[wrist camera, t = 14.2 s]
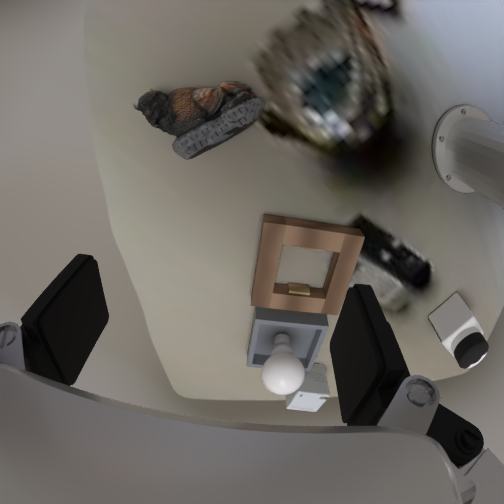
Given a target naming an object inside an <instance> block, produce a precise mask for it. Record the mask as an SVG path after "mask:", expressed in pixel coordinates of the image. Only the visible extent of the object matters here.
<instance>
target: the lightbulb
mask: <svg viewBox="0 0 504 504" xmlns="http://www.w3.org/2000/svg"><path fill="white" fill-rule="evenodd" d="M304 377H305V370H304V366H303V364H302V362H301V361H300V360H299V359H298V358H297V357H296V356H295V355H294V354H293V351H292V349H291V346H290V337H289V336H288V335H286V334H278V335H276V336H275V337H274V349H273V351H272V354H271V356H270V357H269V358H268V359H267V360H266V361H265V363H264V365H263V367H262V370H261V379H262V382H263V384H264V386H265V387H266V388H267V389H268V390H269V391H271V392H272V393H274V394H278V395H287V394H291V393H293V392H295V391H296V390H297V389H298V388H299V387H300V386H301V385H302V383H303V381H304Z"/></svg>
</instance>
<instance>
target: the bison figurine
mask: <svg viewBox="0 0 504 504" xmlns="http://www.w3.org/2000/svg"><path fill="white" fill-rule="evenodd" d="M150 90H151V91H149V92H147V93H145V94H144V95H143V96H141V97H140V98H139V102H138V105H135V104H134V103H133V106H134V108H135V109H137V110H139V111H141V112H143V115H145V117H146V119H147V120H148V122H149V123H150V124H151V125H152V126H153V127H156V128H159V129H161V130H162V131H163V132H167V133H168V134H170V135H175V136H176V137H177V139H176V140H175V141H174V142H173V144H172V146H173V150H174V151H175V153H177V154H178V155H180V156H181V157H183V158H184V159H192V158H194V157H196V156H198V155H200V154H202V153H203V152H205V151H207V150H210V149H212V148H214V147H216V146H218V145H220V144H221V143H223V142H225V141H227V140H229V139H230V138H232V137H234V136H235V135H237V134H239V133H241V132H242V131H244V130H245V129H247V128H248V127H249V126H250V125H252V124H253V123H254V122H255V121H256V120H257V119H258V117H259V116H260V114H261V112H262V111H263V108H264V106H265V100H264V98H262V97H256V96H255V94H254V93H253V92H251V88H249V87H248V86H247V85H245V84H242V83H239V82H237V81H230V82H228V81H226V82H222V83H221V84H220V86H218V87H213V88H210V87H206V88H181V89H176V90H174V91H172V92H170V93H169V94H164V93H162V92H161V91H155V90H153V89H150Z"/></svg>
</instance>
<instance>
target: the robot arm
mask: <svg viewBox="0 0 504 504" xmlns="http://www.w3.org/2000/svg"><path fill="white" fill-rule="evenodd" d="M439 137H440V138H439ZM432 148H433V159H434V164H435V167H436V170H437V172H438V174H439V176H440V177H441V179H442V180H443V181H444V182H445V184H447V185H448V186H449V187H450V188H452V189H454V190H456V191H458V192H461V193H472V192H475V191H477V192H479V193H481V194H482V195H484V196H485V197H487V198H488V199H490V200H492V201H493V202H495V203H496V204H498V205H499V206H500V207H502V208H503V209H504V125H501V124H497V123H493V122H492V121H491V120H490V118H489V117H488V116H487V115H486V114H485V113H484V112H483V111H481V110H480V109H478V108H476V107H473V106H468V105H460V106H456V107H453V108H452V109H450V110H448V111H447V112H446V113H445V114H444V115H443V116H442V118H441V119H440V121H439V123H438V125H437V127H436V129H435V133H434V137H433V146H432ZM108 319H109V313H108V309H107V305H106V301H105V297H104V292H103V287H102V283H101V278H100V274H99V269H98V263H97V261H96V260H94V258H93V256H92V255H86V254H78V255H76V256H75V258H73V260H72V261H71V262H70V263H69V264H68V265H67V266H66V267H65V268H64V269H63V270H62V271H61V273H59V275H58V276H57V277H56V278H55V279H54V280H53V281H52V282H51V284H50V285H49V286H48V287H47V288H46V289H45V290H44V291H43V293H42V294H41V295H40V296H39V297H38V298H37V300H36V301H35V302H34V303H33V305H32V306H31V307H30V308H29V309H28V310H27V312H26V313H25V314H24V316H23V317H22V318H21V321H22V326H21V327H20V326H19V325H18V324H16V323H14V322H6V323H3V324H0V504H504V465H503V464H502V463H501V462H500V461H499V460H498V458H497V457H496V456H495V455H494V454H493V453H492V452H491V451H490V450H489V448H487V449H486V450H484V449H483V445H484V441H483V436H482V434H481V432H480V431H479V429H478V428H477V427H476V426H474V425H473V424H471V423H470V422H468V421H466V420H465V419H463V418H462V417H460V416H458V415H457V414H455V413H454V412H452V411H450V410H449V409H447V408H445V407H444V406H442V405H441V404H439V400H440V393H439V390H438V388H437V386H436V385H435V384H434V383H433V382H432V381H431V380H430V379H428V378H426V377H424V376H420V375H412V376H410V373H409V371H408V368H407V365H406V363H405V360H404V358H403V355H402V353H401V350H400V348H399V345H398V343H397V340H396V338H395V335H394V333H393V331H392V328H391V326H390V324H389V322H387V321H386V318H385V316H384V314H383V311H382V309H381V307H380V305H379V302H378V300H377V298H376V296H375V293H374V291H373V289H372V287H371V285H364V284H355V285H354V286H353V288H352V287H350V288H349V289H348V291H347V294H346V297H345V301H344V304H343V306H342V309H341V312H340V315H339V318H338V321H337V324H336V327H335V329H334V332H333V335H332V338H331V341H330V353H331V358H332V363H333V369H334V374H335V380H336V386H337V392H338V398H339V404H340V410H341V416H342V421H343V423H347V426H285V425H266V424H252V423H241V422H231V421H222V420H214V419H207V418H200V417H194V416H187V415H181V414H176V413H171V412H165V411H160V410H155V409H150V408H146V407H142V406H137V405H133V404H129V403H125V402H121V401H117V400H114V399H110V398H106V397H102V396H99V395H95V394H92V393H89V392H86V391H83V390H79V389H76V388H74V387H71V386H70V385H73V384H74V383H75V381H76V380H77V378H78V375H79V374H80V372H81V370H82V368H83V366H84V364H85V362H86V360H87V358H88V357H89V355H90V353H91V351H92V349H93V347H94V346H95V344H96V342H97V340H98V338H99V337H100V335H101V333H102V331H103V330H104V328H105V326H106V324H107V322H108Z"/></svg>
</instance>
